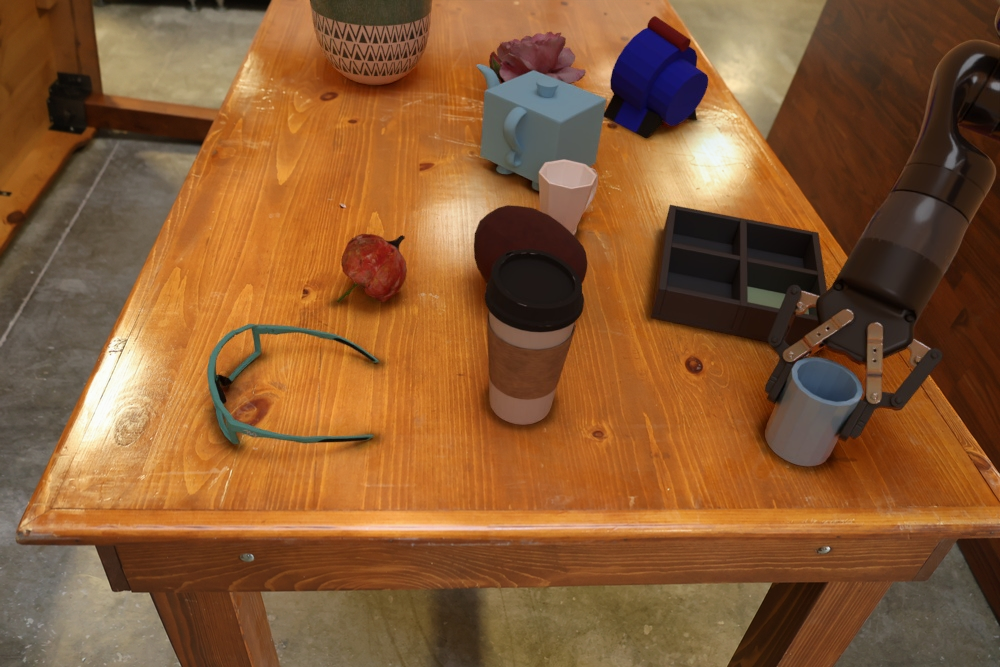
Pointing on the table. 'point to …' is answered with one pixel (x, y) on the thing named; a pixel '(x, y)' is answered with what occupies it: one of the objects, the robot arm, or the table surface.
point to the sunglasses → (219, 380)
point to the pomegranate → (374, 265)
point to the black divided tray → (734, 273)
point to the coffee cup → (529, 331)
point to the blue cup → (812, 411)
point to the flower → (535, 58)
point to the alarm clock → (655, 80)
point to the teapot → (538, 123)
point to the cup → (566, 191)
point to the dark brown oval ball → (525, 238)
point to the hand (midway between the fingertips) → (806, 420)
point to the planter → (372, 36)
